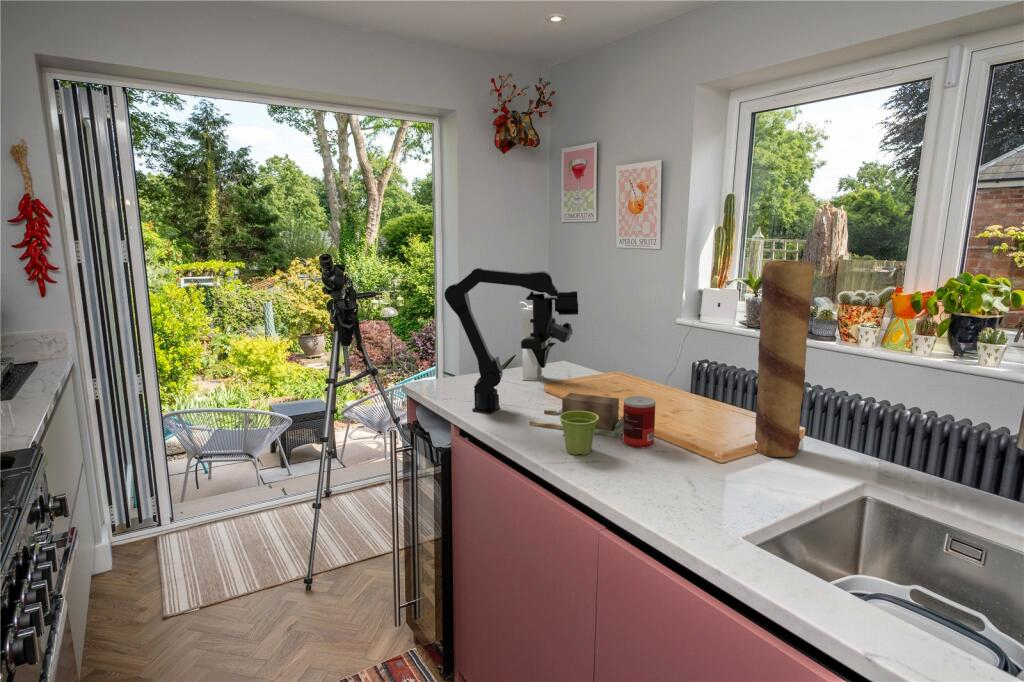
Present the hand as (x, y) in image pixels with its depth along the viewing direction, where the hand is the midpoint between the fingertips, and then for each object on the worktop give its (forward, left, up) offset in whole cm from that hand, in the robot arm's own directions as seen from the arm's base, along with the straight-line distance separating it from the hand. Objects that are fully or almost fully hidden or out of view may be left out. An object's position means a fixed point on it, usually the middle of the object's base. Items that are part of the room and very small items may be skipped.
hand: (542, 367), depth 169 cm
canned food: (+32, -16, -13) cm, 38 cm away
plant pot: (+20, -27, -13) cm, 36 cm away
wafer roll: (+63, -9, -13) cm, 65 cm away
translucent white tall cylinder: (-18, +34, -13) cm, 41 cm away
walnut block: (+17, -9, -13) cm, 23 cm away
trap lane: (+14, -8, -13) cm, 21 cm away
